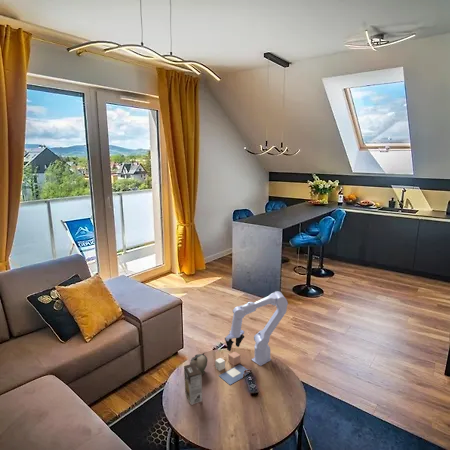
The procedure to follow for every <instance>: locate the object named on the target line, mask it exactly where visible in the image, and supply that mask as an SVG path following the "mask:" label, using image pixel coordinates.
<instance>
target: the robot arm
mask: <svg viewBox="0 0 450 450" xmlns="http://www.w3.org/2000/svg"><path fill="white" fill-rule="evenodd" d="M267 305H272V306H275V308H276V309H275V311H274V312H273V314H272V315H271V317H270V318H269V320H268V322H266V324H265V326H264V328H262V329H261V330H259V331H258V332H257V333H256V334H254V336H253V340H254V342H255V344H254V357H253V358H251V362H254V363H256V364H257V365H259V366H260V367H261V366H263V365H265V364H267V363H268V362H270V361H272V358H271V347H270V345H269V342H270V339H271V338H270V337H271V335H272V334H273V332H274V331H275V330H276V328H277V326H278V325H279V324H280V322H281V321H282V319H283V317H284V316H285V315H286V313H287V311H288V310H287V309H288V305H289V302H288V299H287V297H285V296H284V294H283V293H282V292H281V291H280V290H279V291H278V290H275V291H274V292H272V293H270V294H269V295H268V296H265V297H262V298H261V299H259V300H257V301H255V302H253V301H248V302H247V303H245V304H242V305H241V304H240V305H238V306H235V307H234V308H233V309H232V313H233V315H232V321H231V327H230V330H229V333H228V335H226V336H225V337H224V341H225V344H226V349H227V351H229V352H231V351H232V348H233V345H234V342H235V346H236V347H237V348H240V346H241V343H242V341H243V339H245V335H244V334H245V331H244V330H243V329H242V324H243V319H244V317H245V316H246V315H249V314H252V313H254V312H256V310H257V309H259V308H261V307H265V306H267ZM233 339H235V341H233Z"/></svg>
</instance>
